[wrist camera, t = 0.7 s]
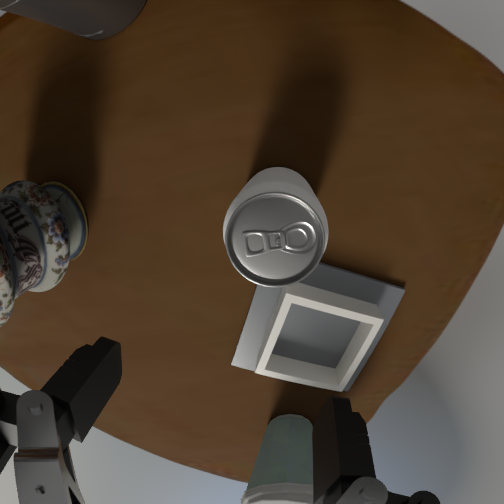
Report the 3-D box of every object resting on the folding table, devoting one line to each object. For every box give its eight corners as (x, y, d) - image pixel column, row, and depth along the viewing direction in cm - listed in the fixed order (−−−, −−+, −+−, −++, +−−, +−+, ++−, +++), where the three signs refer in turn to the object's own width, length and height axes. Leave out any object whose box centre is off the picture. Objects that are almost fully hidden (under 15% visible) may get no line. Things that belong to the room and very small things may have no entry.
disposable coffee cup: (276, 451, 42) (270, 532, 28) (235, 416, 39) (218, 508, 25) (338, 430, 39) (347, 517, 25) (303, 391, 36) (305, 493, 22)
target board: (269, 246, 30) (267, 260, 27) (403, 287, 30) (415, 304, 27) (232, 361, 36) (227, 381, 32) (347, 388, 36) (350, 408, 32)
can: (316, 230, 29) (336, 288, 18) (248, 238, 30) (228, 298, 19) (308, 162, 27) (327, 177, 16) (237, 171, 28) (207, 192, 17)
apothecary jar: (16, 184, 30) (-95, 226, 14) (83, 161, 29) (-55, 197, 12) (39, 273, 34) (-54, 343, 18) (107, 266, 33) (3, 360, 16)
